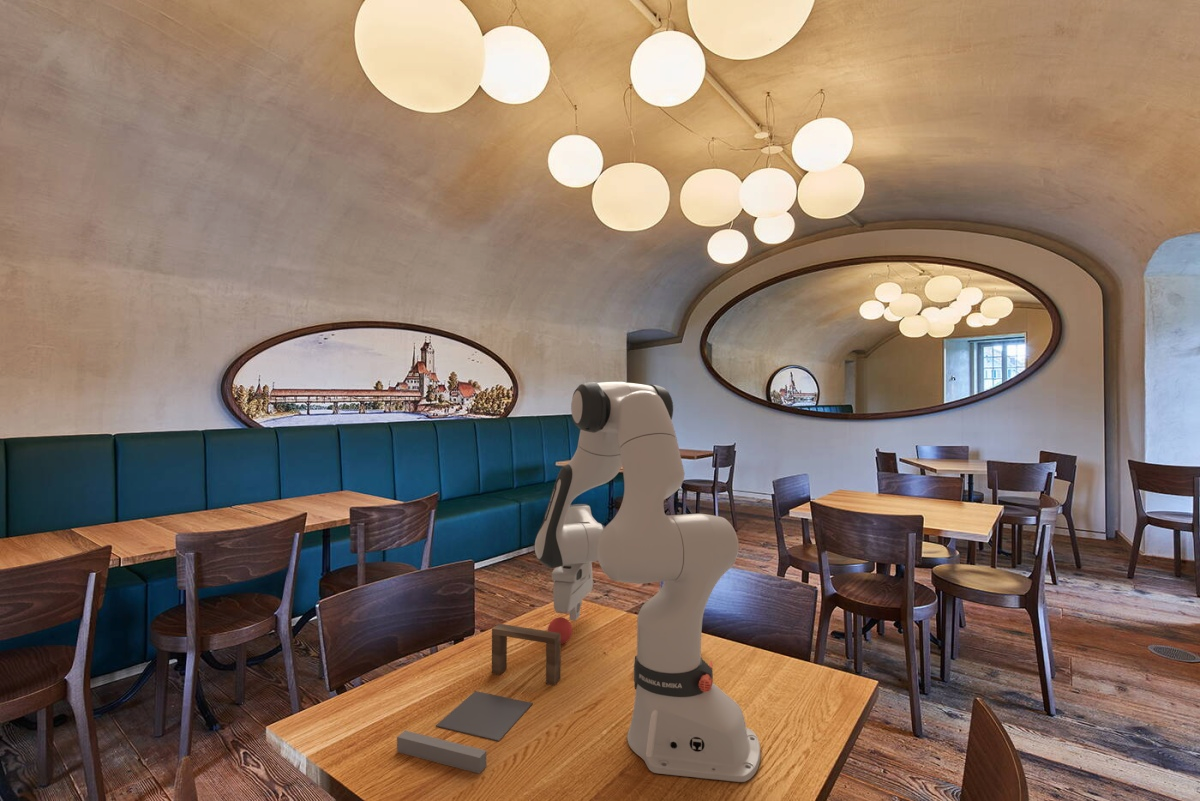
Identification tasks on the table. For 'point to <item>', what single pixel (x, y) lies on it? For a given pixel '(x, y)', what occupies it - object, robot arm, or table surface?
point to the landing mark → (485, 715)
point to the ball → (561, 628)
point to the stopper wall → (442, 751)
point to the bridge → (549, 638)
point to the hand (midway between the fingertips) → (574, 618)
